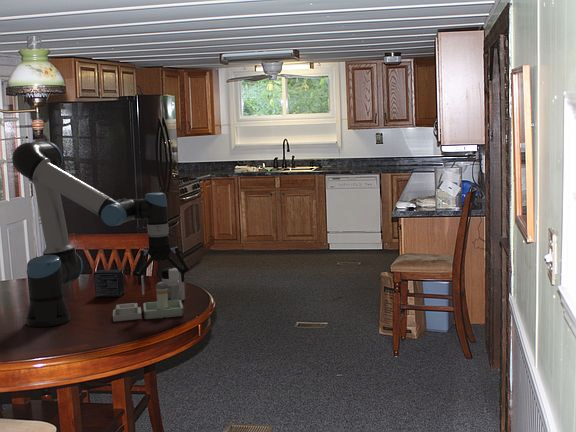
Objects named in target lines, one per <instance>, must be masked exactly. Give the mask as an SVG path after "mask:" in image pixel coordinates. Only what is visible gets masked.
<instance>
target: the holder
mask: <svg viewBox="0 0 576 432" xmlns="http://www.w3.org/2000/svg"><path fill="white" fill-rule="evenodd" d="M142 319H143V318H142V307H141V306H138V302H132V303H120V304H119V303H117V304H116V305H115V308H114V309H113V310H112V321H113V322H123V321H134V320H142Z"/></svg>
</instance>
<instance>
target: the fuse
mask: <svg viewBox="0 0 576 432" xmlns="http://www.w3.org/2000/svg"><path fill="white" fill-rule="evenodd" d="M155 292H156V302H157V310H163V309H169V307H168V290H167V284H157V283H156V284H155Z"/></svg>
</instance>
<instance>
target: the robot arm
mask: <svg viewBox="0 0 576 432" xmlns="http://www.w3.org/2000/svg"><path fill="white" fill-rule="evenodd" d="M11 160H12V161H11V162H12V165H13V167H14V169H15V170H16V171H17V172H18V173H19V174H20V175H22V176H23V177H25V178H27V179H28V181H29V182H30V183H31V184H33V185H34V191H35V195H36V201H37V207H38V212H39V216H40V221H41V227H42V232H43V237H44V243H45V248H44V249H43V252H42V255H40V256H35V257H33V258H31V259H29V260H28V261H27V263H26V275H27V284H28V285H27V286H28V288H27V289H28V295H29V296H28V297H29V304H28V309H27V312H26V317H25V323H26V325H27V326H28V327H32V328H48V327H54V326H58V325H59V326H60V325H63V324H65V323H68V322H69V321H70V320H71V314H70V311H69V309H68V306H67V305H66V302H65V298H64V290H63V287H65V286H67V285H70V284H72V283H74V282H75V281H77V280H78V279H79V278H80V277H81V275H82V272H83V270H84V262H83V259H82V257H81V256H80V254H79V255H78V253H77V252H76V248H75V246H74V245H73V244H71V243H70V238H69V234H68V233H69V232H68V227H67V223H66V216H65V212H64V206H63V201H62V196H64V197H66V198H67V199H69V200H70V201H72V202H74V203H76V204H78V205H79V206H81V207H83V208H85V209H86V210H88V211H89V212H91V213H93V214H95V215H96V216H98V217H100V218H101V221H102V222H103V223H104V224H105V225H107V226H110V227H116V226H120V225H122V224H124V223H127V222H130V221H134V220H135V221H136V220H139V221H140V220H146V225H147V235H148V237H147V238H148V239H147V240H148V242H147V243H148V249H142V248H141V249H140V251H139V252H140V253H139V257H138V260H137V261H136V264H135V267H134V269H133V271H132V276H135V277H137V282H138V286H141V293H142V296H144V295H145V285H144V284H145V281H144V275H143V274H144V273H145V272H146V270H147V269H148V268H149V267H150V265H151V264H152V263H153V261H155V262H160V261H166V260H167V261H169V262H170V264H171V265H173V268H176V269H177V270H178V274H179V279H178V280H179V290H180V292H181V291H182V283H181V282H184V283H185V273H187V272H189V271H190V270H189V267H188V266H187V264H186V262H185V260H184V258H183V257H182V255H181V254H180V251H179V247H178V246H175V247H172V248H171V247H170V246H171V245H170V236H169V233H170V232H169V231H170V230H169V220H168V219H169V217H168V202H167V195H166V194H165V193H164V192H149V193H145V195H144V196H145V197H144V198H129V199H128V198H121V199H116V200H115V199H113V198H112V197H110V196H108V195H106V193H103V192H101V191H99V190H98V189H97V188H95V187H93V186H91V185H89V184H87V183H86V182H84V181H82V180H80V179H78V178H77V177H75V176H74V175H72V174H70V173H69V172H67V171H64V170H63V169H62V165H63V161H64V156H63V152H62V150H61V149H60V147H58V146H57V145H56V144H55V143H53V142H51V141H45V140H43V141H41V140H40V141H35V142H33V141H32V142H24V143H22V144H19V145H18V146H17V147H16V148H15V149H14V150H13V153H12V159H11ZM171 252H172V253H173V254H175V255H176V257H177V259H178V261H179V262H180V264H181V266H182V267H181V266H180V265H179V264H178V263H177V262H176V261H175V260H174V259H173V258H172V257H171V256H170V254H171ZM146 255H149V258H148V259H147V261H146V262H145V263H144V265H143V266H142V268H141V269H140V270H139V268H140V266H141V264H142V262H143V260H144V257H145V256H146Z"/></svg>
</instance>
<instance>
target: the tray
mask: <svg viewBox="0 0 576 432" xmlns="http://www.w3.org/2000/svg"><path fill="white" fill-rule="evenodd" d="M142 306H143V316H144V320H152V319H153V320H154V319H164V317H165V318H172V317H173V318H175V317H184V316H185V311H184V305H183V302H182V301H181V300H170V301H168V307H169V309H163V310H157V301H149V302H143V305H142Z"/></svg>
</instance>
